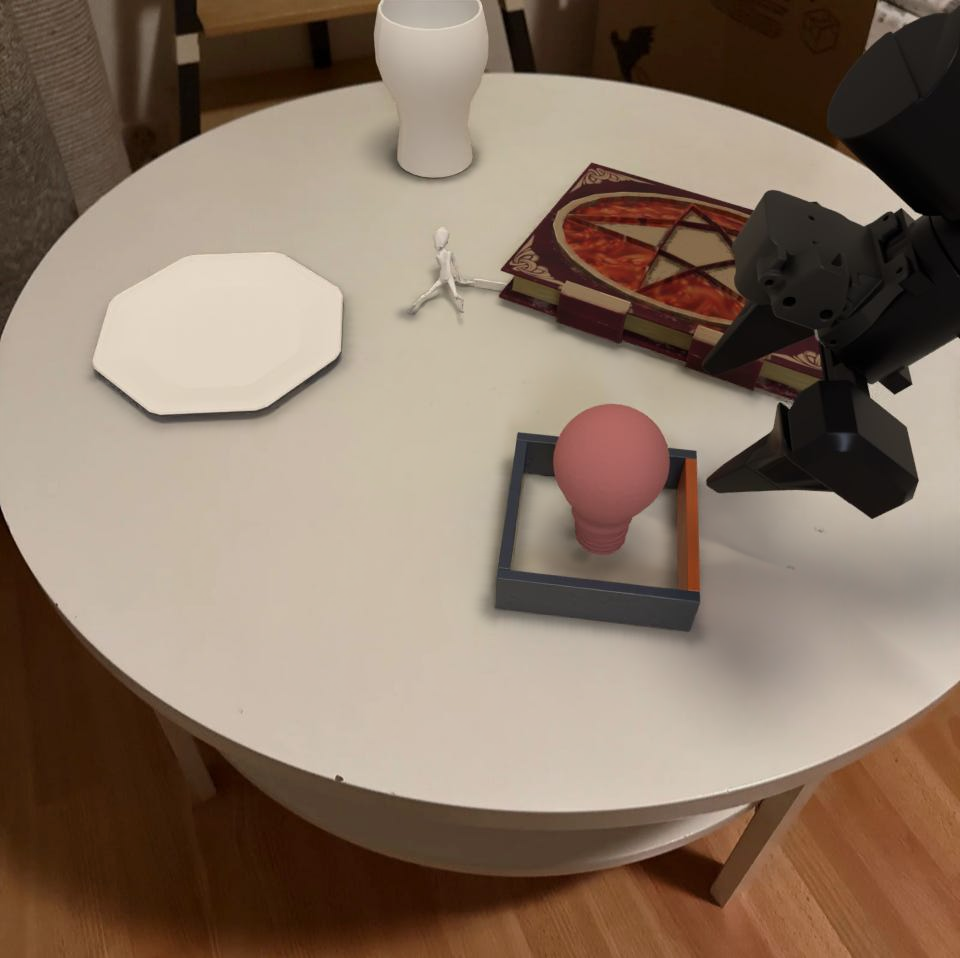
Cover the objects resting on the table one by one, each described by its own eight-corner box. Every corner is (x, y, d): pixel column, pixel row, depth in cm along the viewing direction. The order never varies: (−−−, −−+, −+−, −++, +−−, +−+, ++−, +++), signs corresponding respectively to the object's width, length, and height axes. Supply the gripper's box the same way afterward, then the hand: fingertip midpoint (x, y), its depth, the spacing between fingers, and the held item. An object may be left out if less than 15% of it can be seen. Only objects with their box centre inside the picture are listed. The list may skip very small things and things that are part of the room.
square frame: (687, 482, 67) (696, 450, 64) (690, 632, 59) (700, 602, 56) (515, 464, 68) (517, 431, 65) (494, 608, 60) (495, 578, 57)
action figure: (546, 342, 78) (562, 275, 82) (543, 300, 74) (559, 232, 77) (412, 327, 81) (432, 264, 84) (400, 287, 76) (422, 221, 79)
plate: (205, 464, 68) (201, 451, 67) (55, 346, 76) (49, 332, 75) (392, 332, 78) (391, 318, 77) (241, 239, 86) (238, 225, 85)
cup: (497, 179, 92) (501, 26, 81) (392, 192, 91) (381, 38, 79) (473, 125, 99) (474, -23, 87) (375, 137, 97) (363, -13, 86)
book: (877, 276, 84) (898, 229, 80) (822, 421, 71) (844, 373, 67) (589, 189, 91) (595, 142, 88) (494, 305, 79) (497, 256, 75)
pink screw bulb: (564, 595, 61) (581, 478, 51) (531, 513, 65) (542, 391, 56) (664, 572, 62) (698, 453, 53) (626, 492, 66) (651, 370, 57)
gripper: (832, 51, 45) (612, 247, 56) (890, 291, 33) (596, 484, 44) (964, 185, 50) (737, 344, 60) (1057, 440, 38) (754, 583, 48)
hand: (709, 425), depth 53 cm, fingers open, 9 cm apart
